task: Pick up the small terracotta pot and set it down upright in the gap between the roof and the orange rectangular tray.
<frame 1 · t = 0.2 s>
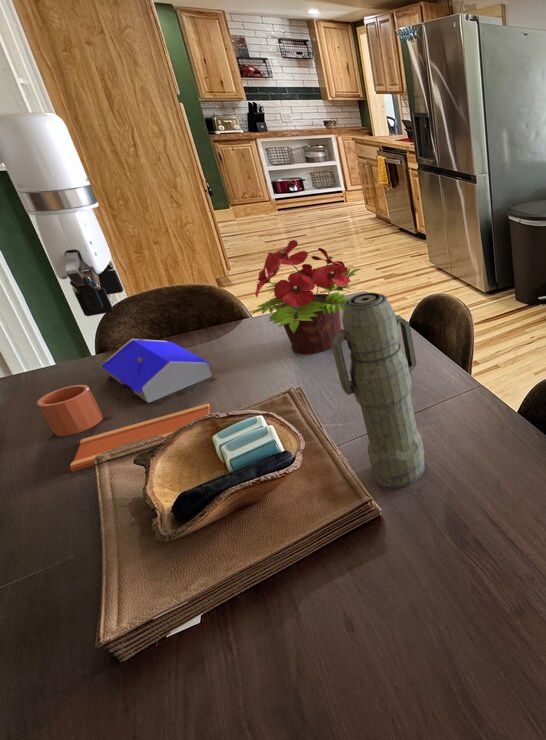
hand: (105, 303, 78), 32 cm above the table, tool pointing down, fingers open, 9 cm apart
orange rectangular tray: (147, 436, 96), on the table
terracotta pot: (79, 424, 99), on the table
thermos: (401, 471, 87), on the table
roof: (161, 376, 116), on the table
potted plant: (321, 346, 130), on the table
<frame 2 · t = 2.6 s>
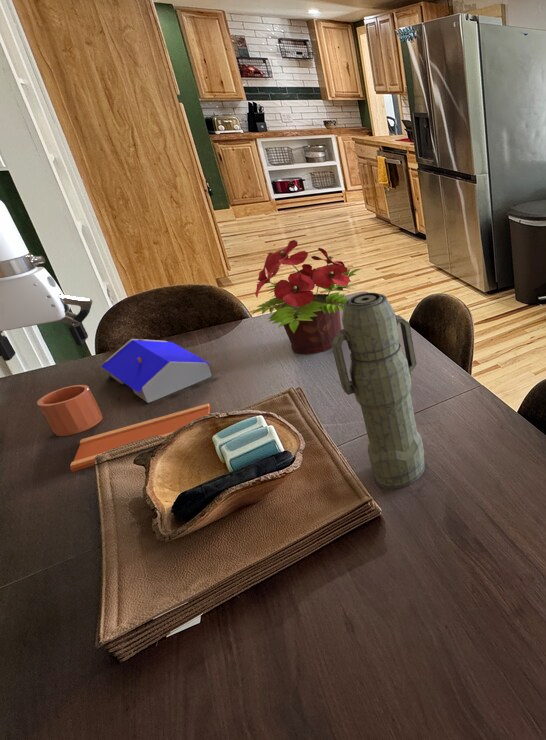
hand: (47, 349, 91), 18 cm above the table, tool pointing down, fingers open, 9 cm apart
nothing on the table moved.
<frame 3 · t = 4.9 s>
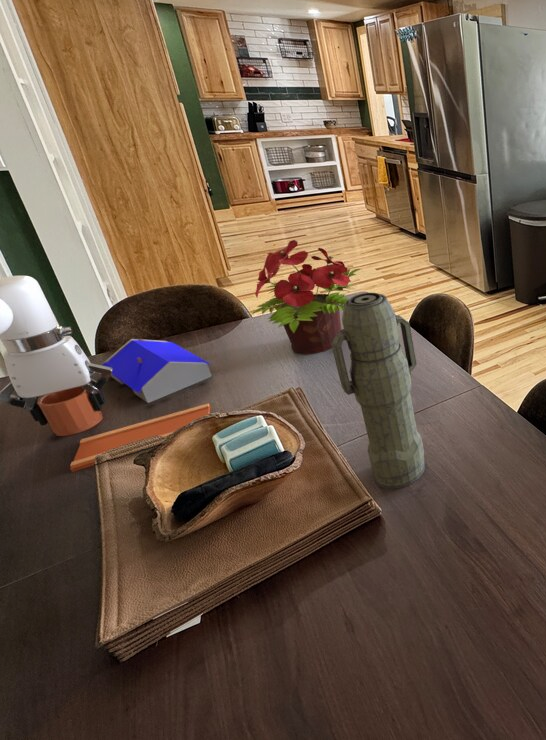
hand: (73, 414, 98), 3 cm above the table, tool pointing down, fingers closed on terracotta pot, 7 cm apart
terracotta pot: (79, 424, 99), on the table, touching gripper
everything else where it was.
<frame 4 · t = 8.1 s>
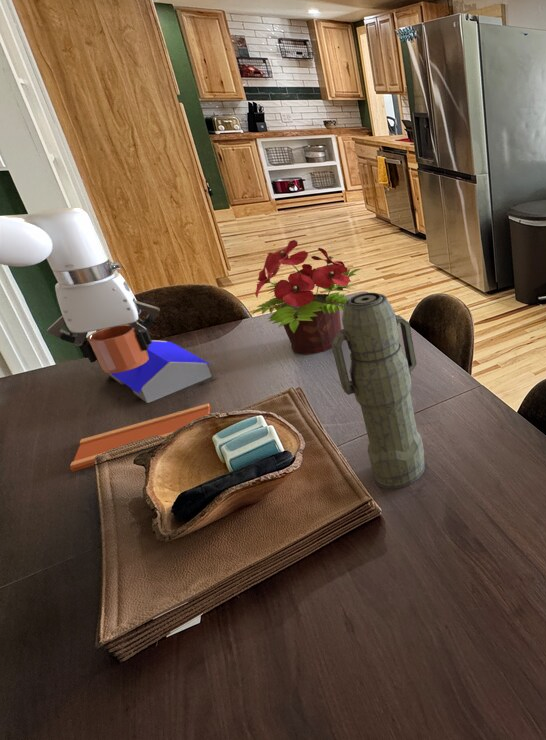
hand: (121, 352, 97), 15 cm above the table, tool pointing down, fingers closed on terracotta pot, 7 cm apart
terracotta pot: (126, 364, 99), point 12 cm above the table, touching gripper
everything else where it was.
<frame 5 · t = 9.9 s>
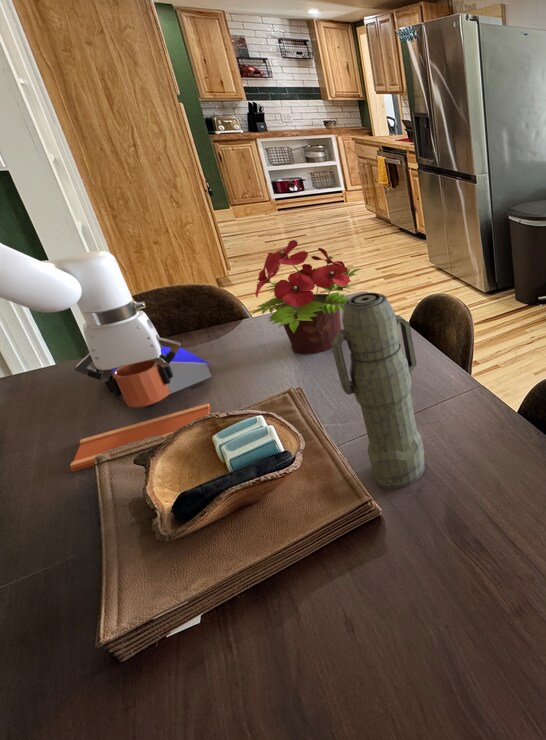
hand: (144, 386, 101), 6 cm above the table, tool pointing down, fingers closed on terracotta pot, 7 cm apart
terracotta pot: (149, 397, 102), point 3 cm above the table, touching gripper
everything else where it was.
when the fingers open (3 cm above the table, at t = 11.4 s): terracotta pot stays where it is, on the table.
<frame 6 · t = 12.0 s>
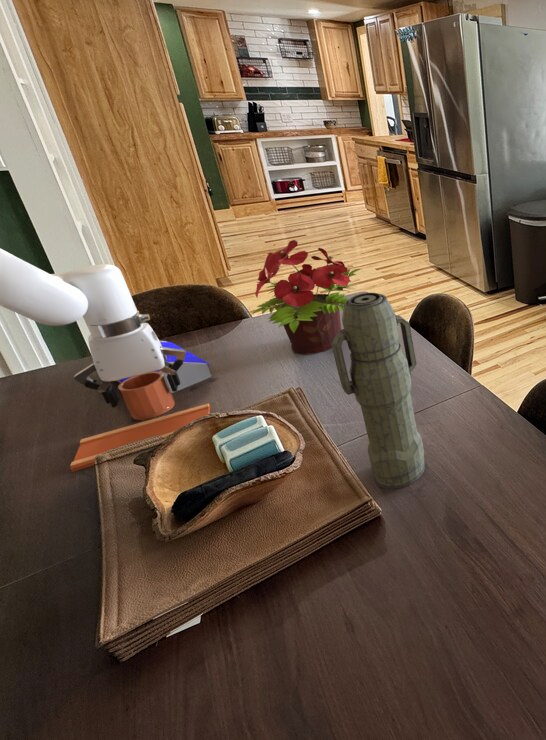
hand: (146, 396, 102), 4 cm above the table, tool pointing down, fingers open, 9 cm apart
terracotta pot: (153, 409, 104), on the table
everything else where it was.
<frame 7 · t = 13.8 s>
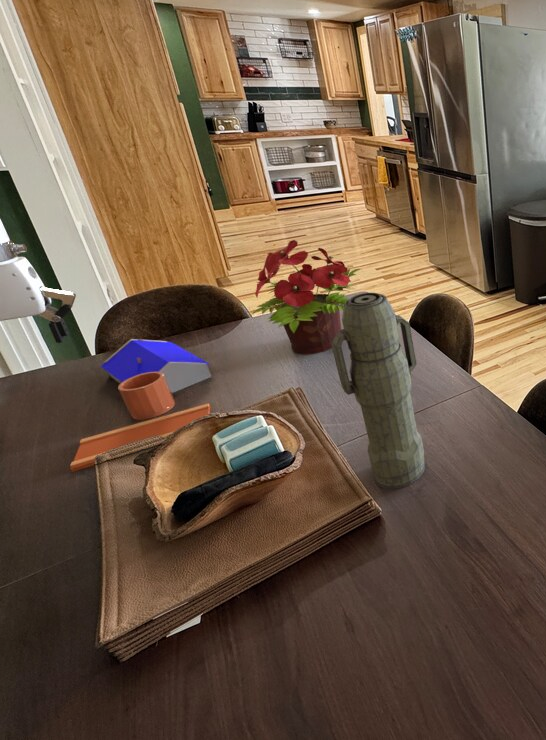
hand: (23, 347, 84), 22 cm above the table, tool pointing down, fingers open, 9 cm apart
nothing on the table moved.
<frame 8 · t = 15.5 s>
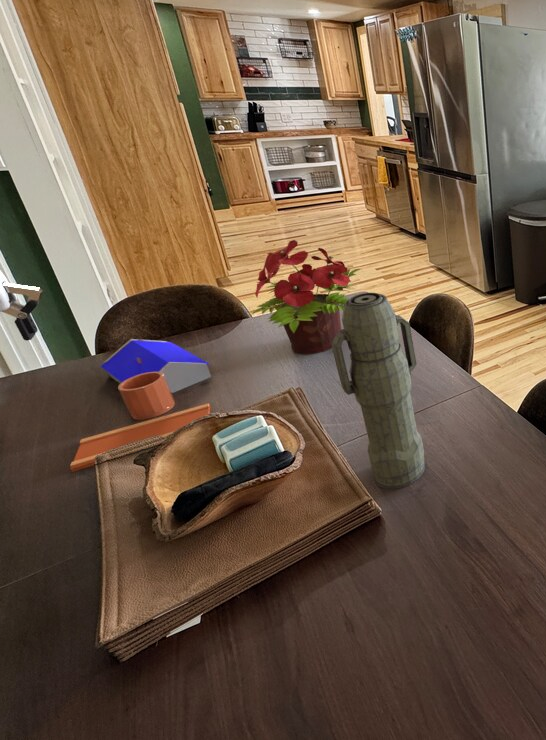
nothing on the table moved.
at the end: terracotta pot inside the target area (0.1 cm from its centre), on the table; terracotta pot tilted 0°; the gripper is holding nothing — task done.
